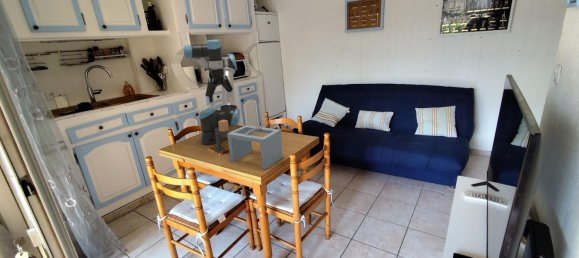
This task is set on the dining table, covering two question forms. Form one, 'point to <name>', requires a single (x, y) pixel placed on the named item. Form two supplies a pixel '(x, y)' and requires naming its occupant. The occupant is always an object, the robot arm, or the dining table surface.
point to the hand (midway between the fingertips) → (221, 105)
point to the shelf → (268, 143)
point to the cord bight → (221, 131)
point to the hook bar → (253, 131)
